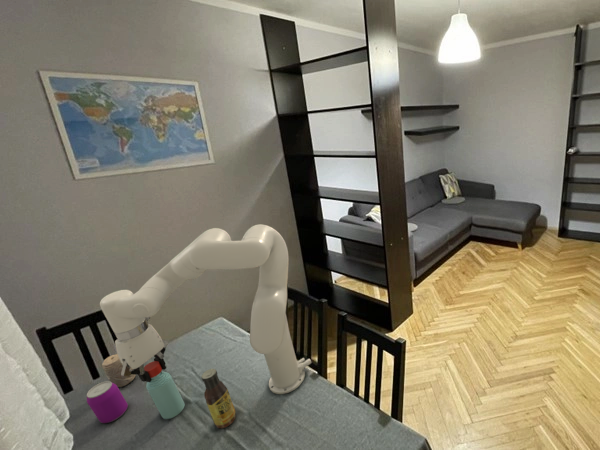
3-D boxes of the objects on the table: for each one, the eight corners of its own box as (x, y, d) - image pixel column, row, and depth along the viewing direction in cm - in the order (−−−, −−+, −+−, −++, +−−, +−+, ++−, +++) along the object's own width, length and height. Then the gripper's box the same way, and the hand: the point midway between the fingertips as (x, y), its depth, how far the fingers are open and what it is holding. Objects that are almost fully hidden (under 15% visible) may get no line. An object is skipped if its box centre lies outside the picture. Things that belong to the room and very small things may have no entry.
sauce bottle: (228, 431, 98) (208, 385, 90) (211, 428, 99) (190, 382, 92) (241, 411, 104) (224, 367, 96) (225, 409, 105) (206, 365, 98)
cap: (142, 376, 99) (139, 370, 98) (156, 366, 102) (152, 359, 101) (152, 379, 98) (149, 372, 96) (165, 368, 101) (162, 362, 100)
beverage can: (96, 429, 102) (79, 403, 98) (104, 410, 109) (88, 385, 104) (125, 417, 105) (110, 392, 101) (131, 400, 112) (117, 375, 107)
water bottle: (182, 397, 111) (162, 356, 103) (186, 409, 106) (165, 366, 99) (160, 410, 107) (137, 368, 99) (163, 423, 102) (139, 379, 95)
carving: (110, 387, 118) (95, 363, 113) (131, 372, 124) (119, 348, 120) (119, 392, 115) (105, 368, 111) (141, 376, 122) (129, 352, 117)
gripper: (150, 310, 102) (170, 353, 109) (91, 347, 87) (119, 394, 94) (167, 313, 100) (187, 356, 107) (109, 352, 85) (136, 399, 92)
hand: (154, 374), depth 100 cm, fingers closed on cap, 4 cm apart
